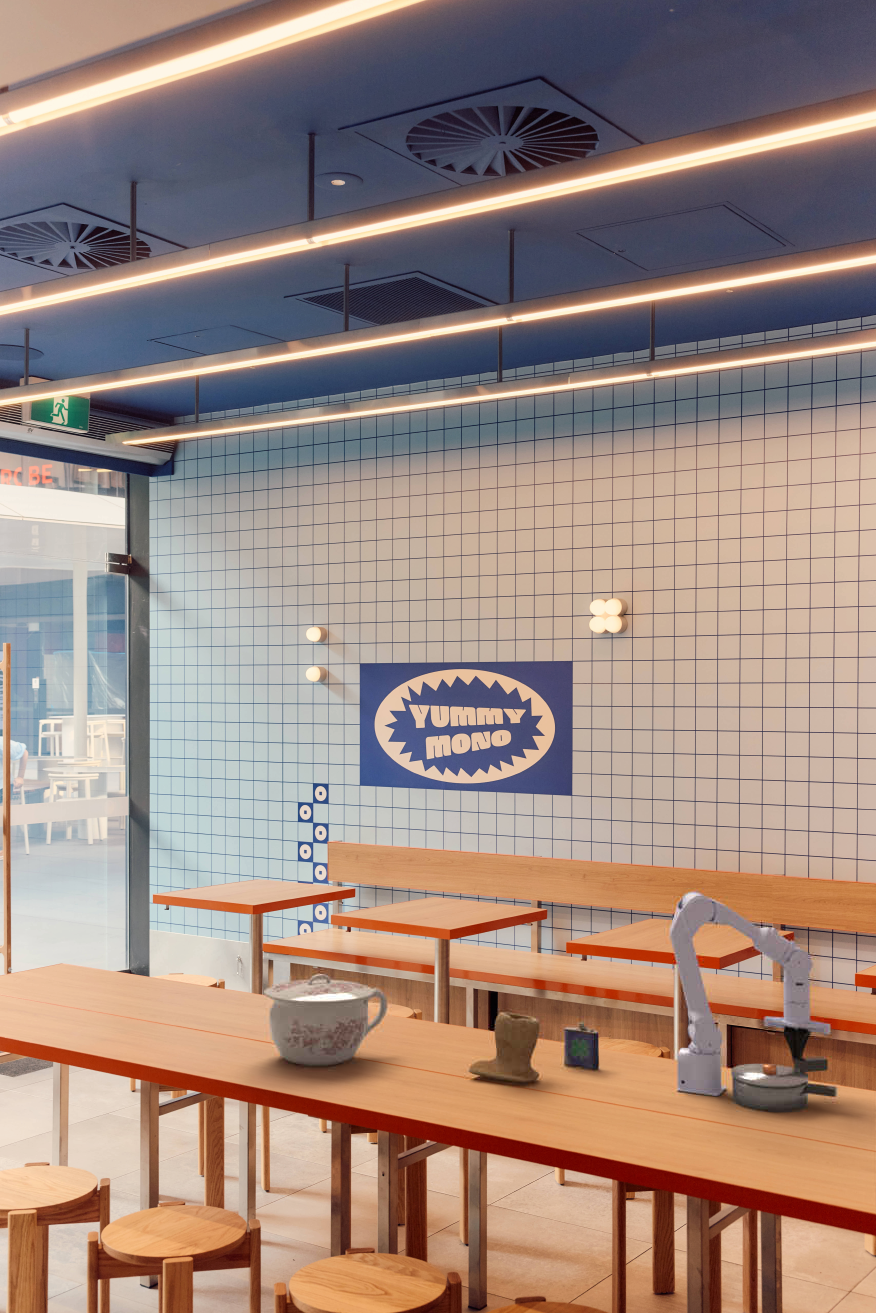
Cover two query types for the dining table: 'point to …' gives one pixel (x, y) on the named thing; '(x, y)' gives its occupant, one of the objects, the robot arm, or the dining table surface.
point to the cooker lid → (779, 1073)
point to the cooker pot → (777, 1096)
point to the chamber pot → (321, 1019)
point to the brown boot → (511, 1049)
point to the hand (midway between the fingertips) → (797, 1062)
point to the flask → (581, 1047)
